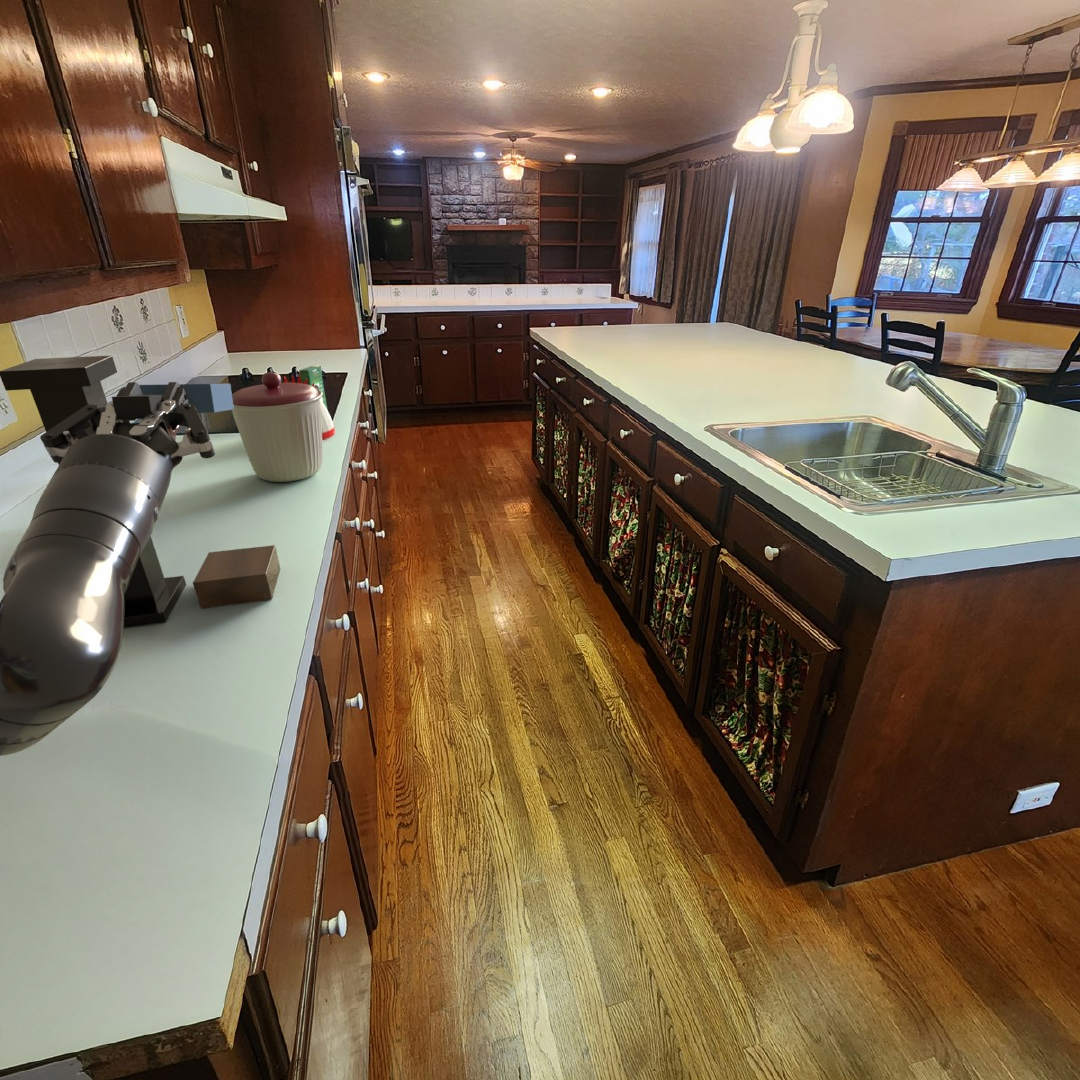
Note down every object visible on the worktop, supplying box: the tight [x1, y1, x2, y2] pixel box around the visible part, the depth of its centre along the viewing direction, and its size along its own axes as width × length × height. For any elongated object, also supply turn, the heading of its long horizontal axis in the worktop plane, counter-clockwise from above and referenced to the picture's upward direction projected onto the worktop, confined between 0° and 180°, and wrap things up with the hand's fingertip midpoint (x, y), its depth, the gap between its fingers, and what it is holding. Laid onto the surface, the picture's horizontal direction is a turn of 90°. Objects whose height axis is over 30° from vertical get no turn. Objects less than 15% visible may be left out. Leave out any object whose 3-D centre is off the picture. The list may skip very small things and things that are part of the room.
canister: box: [231, 371, 324, 483], centre depth 123 cm, size 18×18×21 cm
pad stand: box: [0, 355, 187, 629], centre depth 74 cm, size 8×10×32 cm
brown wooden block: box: [192, 544, 281, 609], centre depth 85 cm, size 9×9×4 cm
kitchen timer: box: [283, 374, 336, 441], centre depth 151 cm, size 14×14×15 cm
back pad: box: [111, 383, 234, 420], centre depth 63 cm, size 8×18×3 cm, turn 12°
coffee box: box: [298, 365, 328, 409], centre depth 170 cm, size 8×3×13 cm, turn 173°
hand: (156, 390), depth 60 cm, fingers closed on back pad, 3 cm apart
